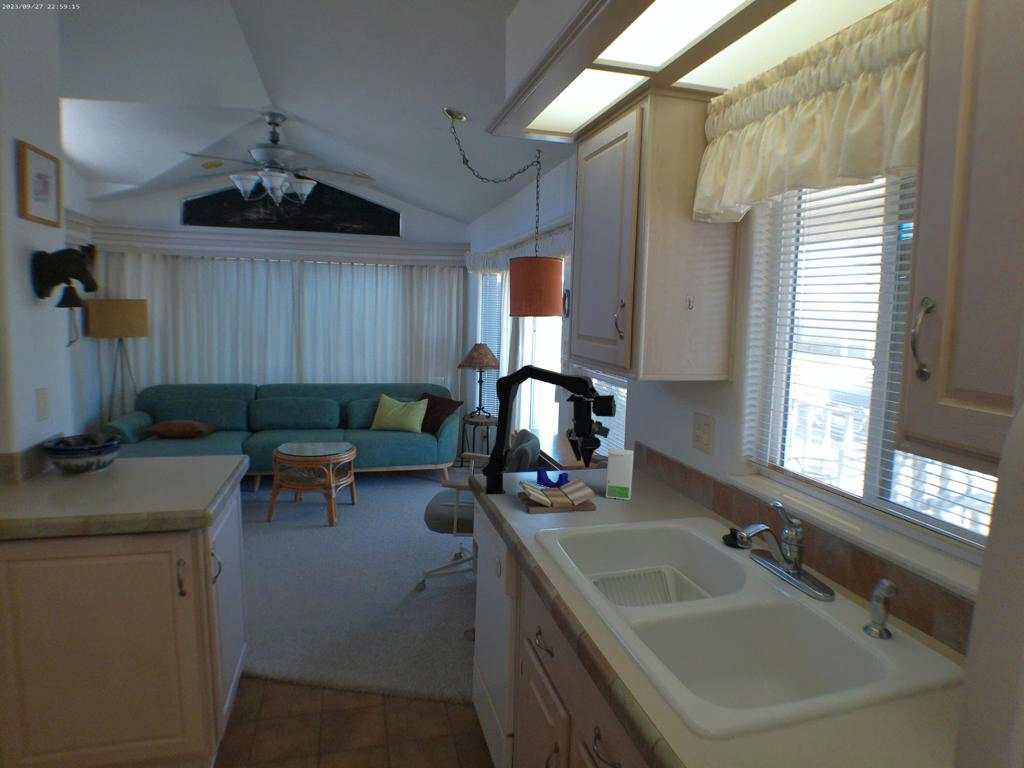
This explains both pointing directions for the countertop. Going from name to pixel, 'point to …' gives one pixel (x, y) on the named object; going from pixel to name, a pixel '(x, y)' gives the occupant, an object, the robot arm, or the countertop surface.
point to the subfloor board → (540, 508)
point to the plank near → (534, 493)
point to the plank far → (577, 491)
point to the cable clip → (545, 480)
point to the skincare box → (619, 474)
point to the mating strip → (556, 497)
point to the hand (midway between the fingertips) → (582, 464)
